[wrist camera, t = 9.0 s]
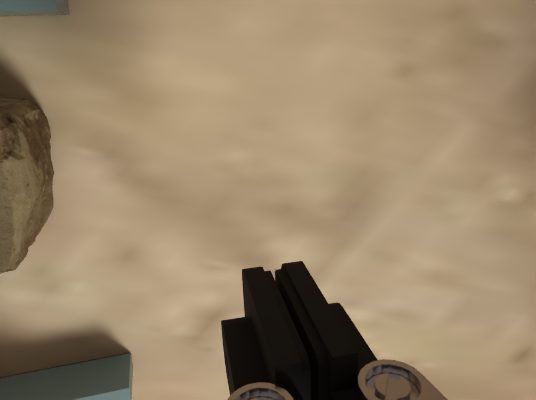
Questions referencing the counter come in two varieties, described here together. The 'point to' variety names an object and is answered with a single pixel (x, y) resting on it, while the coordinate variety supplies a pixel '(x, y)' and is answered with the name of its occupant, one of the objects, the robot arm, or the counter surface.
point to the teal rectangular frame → (80, 374)
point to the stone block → (23, 178)
